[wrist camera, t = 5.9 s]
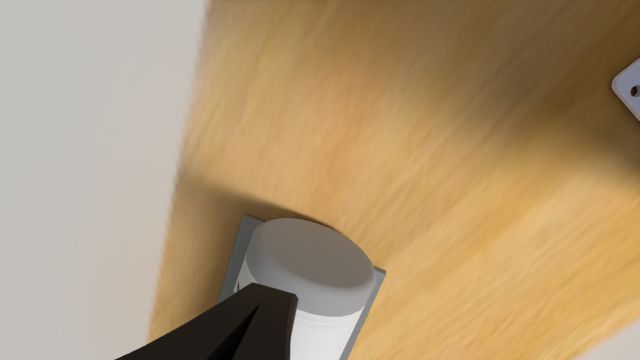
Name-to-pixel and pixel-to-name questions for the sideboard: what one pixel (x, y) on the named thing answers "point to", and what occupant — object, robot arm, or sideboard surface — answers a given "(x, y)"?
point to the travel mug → (311, 281)
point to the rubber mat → (238, 258)
